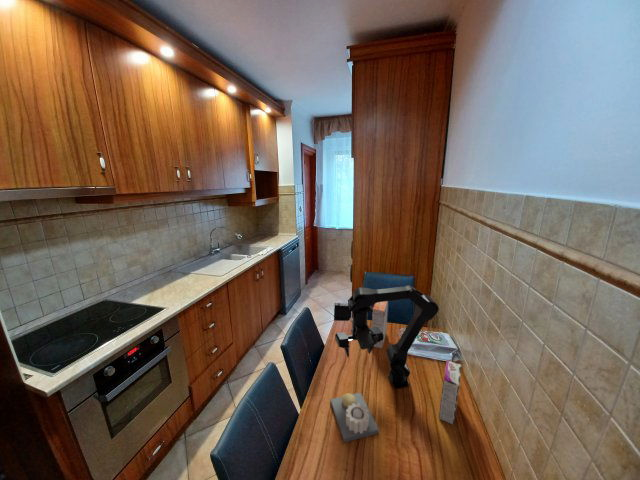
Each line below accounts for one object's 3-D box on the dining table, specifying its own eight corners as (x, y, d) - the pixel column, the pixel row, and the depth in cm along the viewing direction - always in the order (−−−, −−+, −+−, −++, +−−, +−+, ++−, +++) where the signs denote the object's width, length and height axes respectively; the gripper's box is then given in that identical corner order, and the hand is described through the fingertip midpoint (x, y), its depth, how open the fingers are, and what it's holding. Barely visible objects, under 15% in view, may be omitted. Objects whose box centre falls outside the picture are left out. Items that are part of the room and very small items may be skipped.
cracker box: (375, 331, 136) (377, 296, 131) (386, 333, 134) (389, 298, 129) (370, 346, 123) (372, 308, 118) (382, 349, 121) (384, 311, 116)
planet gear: (362, 410, 87) (363, 401, 86) (372, 430, 80) (372, 420, 79) (342, 415, 86) (343, 405, 85) (350, 436, 78) (350, 426, 78)
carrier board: (360, 395, 95) (360, 381, 94) (378, 433, 81) (379, 417, 79) (330, 402, 92) (330, 387, 91) (344, 442, 78) (344, 426, 77)
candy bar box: (441, 395, 95) (446, 359, 91) (456, 401, 92) (462, 364, 89) (437, 418, 86) (443, 379, 82) (453, 426, 83) (460, 385, 79)
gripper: (344, 336, 86) (343, 374, 90) (392, 328, 91) (389, 364, 94) (334, 319, 97) (334, 353, 101) (378, 313, 101) (376, 346, 105)
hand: (358, 354), depth 100 cm, fingers open, 9 cm apart
